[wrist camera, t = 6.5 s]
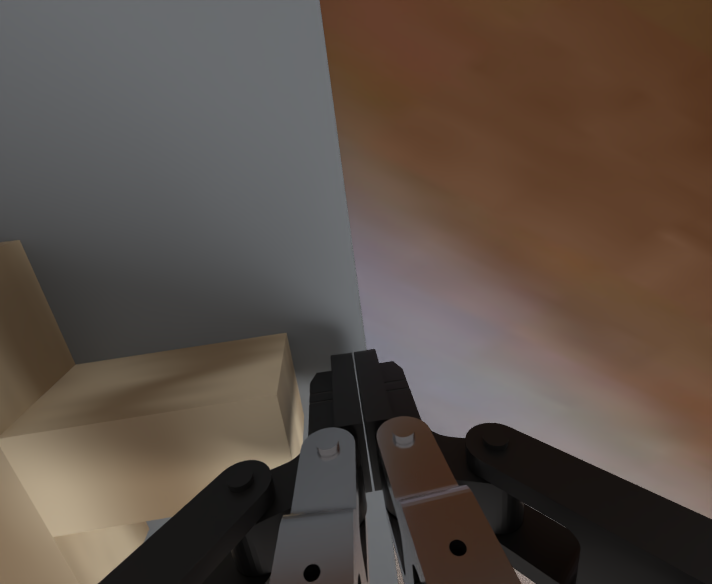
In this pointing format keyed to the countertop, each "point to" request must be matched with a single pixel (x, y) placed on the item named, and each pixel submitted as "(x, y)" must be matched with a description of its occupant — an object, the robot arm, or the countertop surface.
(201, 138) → the board
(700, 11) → the countertop surface
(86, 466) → the t block
